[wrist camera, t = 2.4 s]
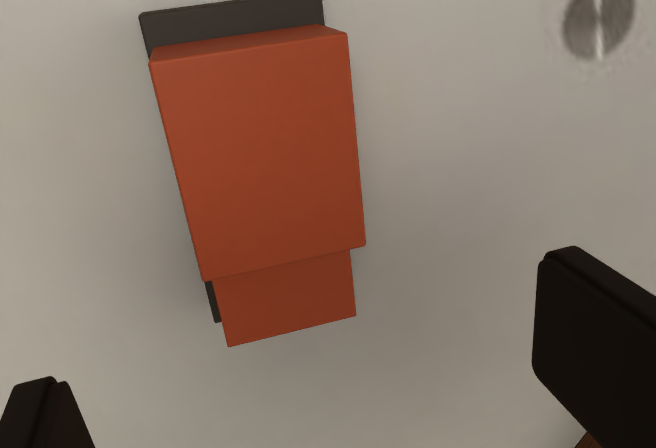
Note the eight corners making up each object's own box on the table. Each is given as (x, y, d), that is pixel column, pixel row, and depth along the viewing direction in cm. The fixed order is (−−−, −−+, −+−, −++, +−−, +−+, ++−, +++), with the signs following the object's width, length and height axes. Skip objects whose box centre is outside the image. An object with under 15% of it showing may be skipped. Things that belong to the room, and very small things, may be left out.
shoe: (140, 12, 18) (129, 23, 14) (311, -11, 19) (351, -7, 15) (212, 304, 23) (221, 379, 19) (343, 274, 25) (380, 338, 20)
